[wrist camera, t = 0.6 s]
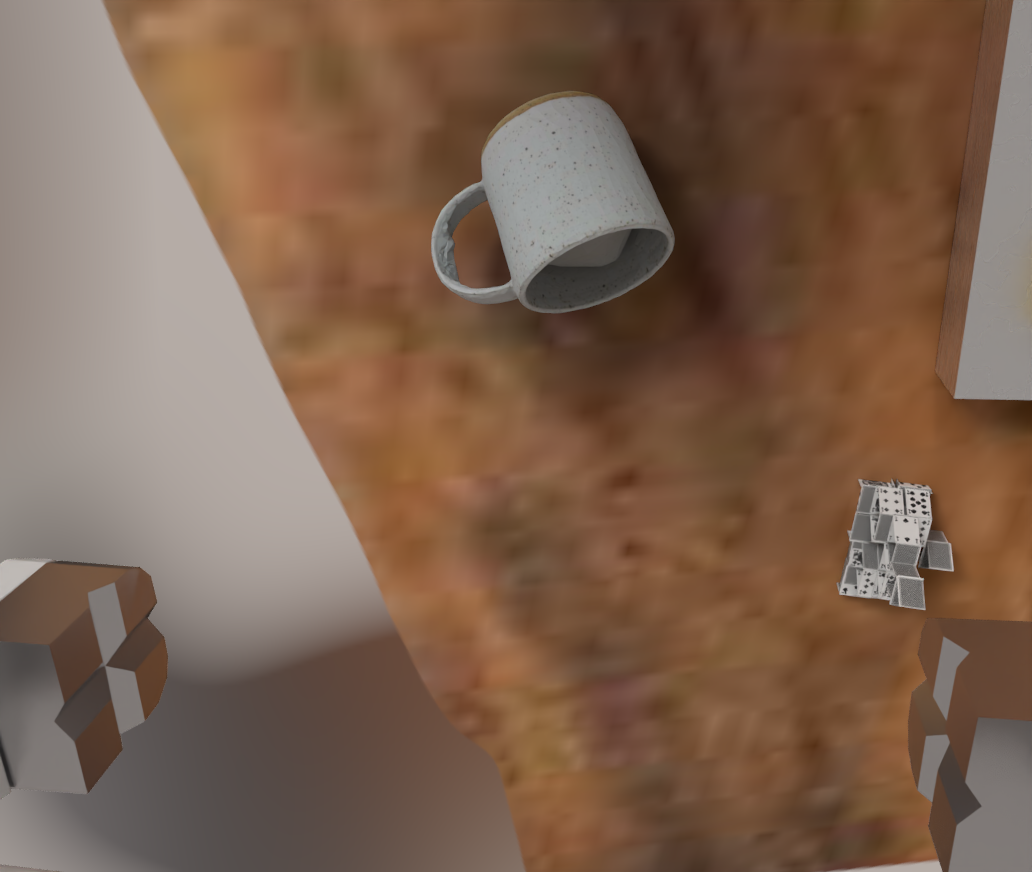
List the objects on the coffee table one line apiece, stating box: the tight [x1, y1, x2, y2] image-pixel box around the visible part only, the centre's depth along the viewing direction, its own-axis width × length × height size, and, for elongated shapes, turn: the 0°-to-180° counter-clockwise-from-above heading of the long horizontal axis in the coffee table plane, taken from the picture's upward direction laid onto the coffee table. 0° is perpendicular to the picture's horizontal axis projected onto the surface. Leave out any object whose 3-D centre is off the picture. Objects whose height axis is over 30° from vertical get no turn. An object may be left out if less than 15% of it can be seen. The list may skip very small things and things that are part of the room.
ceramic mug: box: [431, 91, 675, 313], centre depth 45 cm, size 11×8×8 cm
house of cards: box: [836, 479, 954, 610], centre depth 52 cm, size 9×9×8 cm
